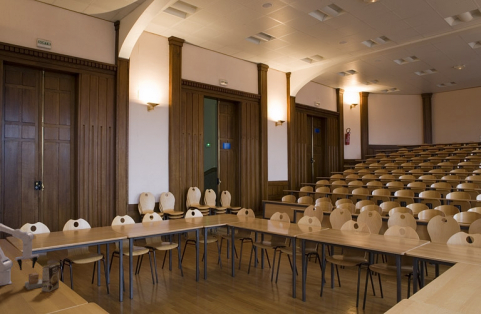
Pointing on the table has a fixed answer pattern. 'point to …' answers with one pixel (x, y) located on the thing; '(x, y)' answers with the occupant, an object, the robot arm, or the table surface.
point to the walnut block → (33, 278)
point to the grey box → (31, 286)
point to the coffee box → (50, 277)
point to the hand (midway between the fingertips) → (27, 268)
